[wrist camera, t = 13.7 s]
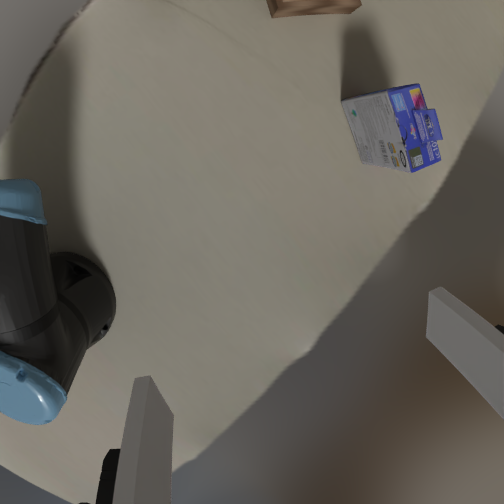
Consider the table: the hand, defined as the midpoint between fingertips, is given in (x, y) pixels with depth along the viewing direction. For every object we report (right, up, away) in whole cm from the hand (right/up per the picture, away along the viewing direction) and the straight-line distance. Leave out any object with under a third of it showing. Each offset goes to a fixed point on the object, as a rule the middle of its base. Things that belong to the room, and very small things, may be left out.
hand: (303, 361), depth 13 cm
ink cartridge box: (+14, +23, +28) cm, 39 cm away
